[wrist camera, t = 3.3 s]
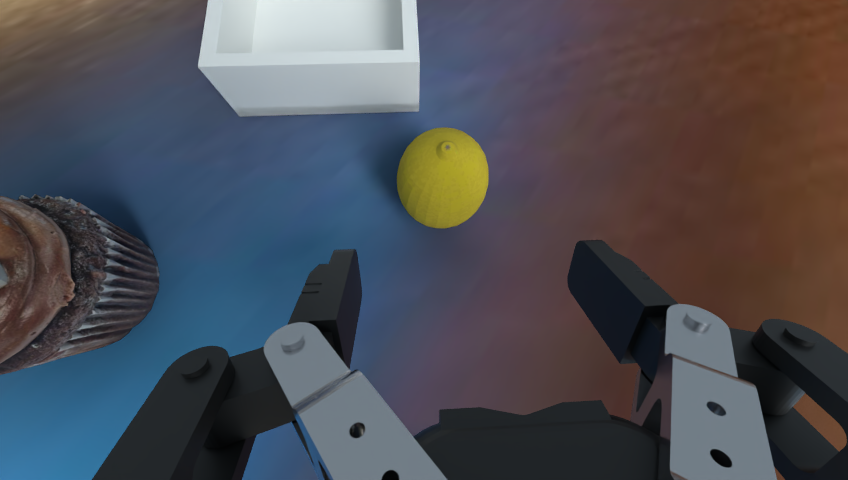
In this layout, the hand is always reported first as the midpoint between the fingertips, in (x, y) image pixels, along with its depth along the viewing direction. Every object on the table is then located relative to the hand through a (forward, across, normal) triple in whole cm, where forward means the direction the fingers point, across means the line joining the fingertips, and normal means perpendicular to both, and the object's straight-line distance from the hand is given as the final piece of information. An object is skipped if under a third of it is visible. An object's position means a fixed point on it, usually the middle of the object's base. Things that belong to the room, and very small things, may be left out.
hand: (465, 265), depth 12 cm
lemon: (+12, 0, +3) cm, 13 cm away
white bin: (+23, +8, -8) cm, 25 cm away
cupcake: (+9, +23, +7) cm, 25 cm away
